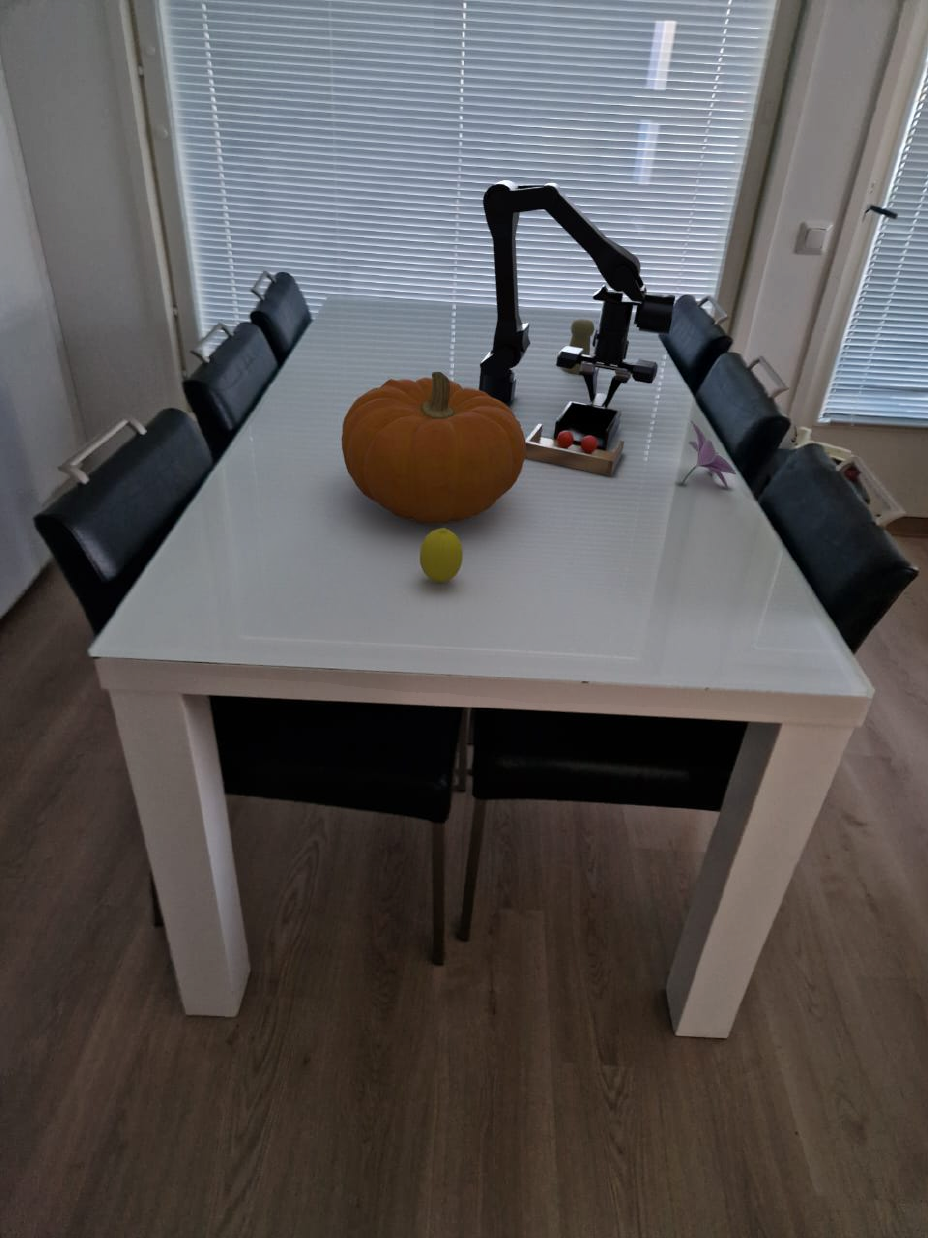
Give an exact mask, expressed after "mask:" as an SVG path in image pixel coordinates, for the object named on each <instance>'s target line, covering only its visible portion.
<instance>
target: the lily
mask: <svg viewBox="0 0 928 1238" xmlns="http://www.w3.org/2000/svg"><path fill="white" fill-rule="evenodd" d="M690 422H691V425H692V427H693V429H694V431H695V434H696V437H697V442H696V441H693V440H692V441H691V440H690V441H688V445H690V446H692V448H693V449H694V450H695V452H697V460H696V465H694V466H693V468H691V470H690V471H689V472H688V473H687V474H686V476H685V477H684V479H683V480H682V482H681V483H680V485H684V483H685V482H686V480H687V479H688V478H689V476H690V475H691V474H692V473H693V471H695V469H697V468H698V467H701V468H705V469H707V470H708V473H710V474H716V475H717V477H718V478H719V479H720V481H721V482H722V483H723V485H724V486H725V488H726V489H727V490H728V487H729V486H728V483H727V481H726V478H725V476H724V474H723V473H725V474H732V475H737V473H736V471H735V469H734V468H733V467H732V465H731V464H730V463H729V461H727V459H725V458H724V457H723V456H721V455H719V452H718V451H717V450H716V448H715V446H714V444H713V442H712V440H709V439H708V440H707V438H706V435H704V433H703V431H702V430H701V429H700V428H699V426H698V425H697V424H696V422H694V421H693V420H690Z"/></svg>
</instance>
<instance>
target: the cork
mask: <svg viewBox="0 0 928 1238" xmlns="http://www.w3.org/2000/svg"><path fill="white" fill-rule="evenodd" d="M570 332H571V338H570V342H569V345H568V346H570V347H576V348H581V349H583V352H584V353H583V354H584V355H589V356H591V338H592V336H593V335H594V333H595V324H594V323H593V322H592V321H591V320H589V319H586V318H578V319H577V318H576V319H575V320H574V319H573V321H572V323H571V325H570ZM562 369H563V371H565V372H567V373H569V374H570V373H571V374H576V375H577V374H578V375H579V371H580V369H581V364H576V366H574V367H573V368H572V369H568V368H562Z"/></svg>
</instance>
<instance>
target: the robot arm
mask: <svg viewBox="0 0 928 1238" xmlns="http://www.w3.org/2000/svg"><path fill="white" fill-rule="evenodd" d="M482 206H483V212H484V216H485V221H486V224H487V227H488V230H489V233H490V235H491V238H492V246H493V247H492V248H493V263H494V264H493V265H494V281H495V282H494V283H495V284H494V285H495V298H496V299H495V300H496V302H495V303H496V325H495V329H494V335H493V344H492V349H491V350H490V351H489V352H488V353H487V354H486V356H485V357H484V359H482V361H481V362H480V363H479V369H480V371H479V382H478V390H480V391H483V392H485V393H486V394H488V395H489V396H491V397H492V398H495V399H497V400H499V401H501V402H502V403H504V404H505V405H507V406H509V405H510V404H511V402H512V401H513V400H514V399H515V395H516V386H517V379H516V378H515V370H513V369H514V368H515V367H517V366H518V365H519V364H520V362H521V361H522V359H523V357H524V356H525V355H526V353H527V350H528V348H529V346H530V345H531V341H530V338H529V337H530V336H529V332H530V323H529V322H528V323H523V321H522V319H521V316H520V307H519V304H520V303H519V285H518V283H519V282H518V261H517V239H516V237H517V230H518V226H519V221H520V216H521V215H520V214H521V213H525V212H532V211H542V210H543V211H545V212H546V213H547V214H548V215H549V216H550V217H551V218H552V219H553V220H554V221H555V222H556V223H557V224H558V225H559V226H560V227H561V228H562V229H563V230H564V231H565V232H566V233H567V234H568V235H569V236H570V237H571V238H572V239H573V240H574V241H575V242H576V243H577V244H578V245H579V246H580V247H581V248H582V249H583V250H584V251H585V252H586V253H587V254H588V255H589V256H590V258H591V259H592V261H593V263H594V264H595V266H596V268H597V270H598V271H599V273H600V275H601V276H602V278H603V279H604V281H605V282H606V283H607V285H608V287H609V288H610V289H611V290H609V289H608V287H607V285H606V284H603V285H602V286H601V288H599V289H598V290H597V291H595V292H594V294H593V295H592V299H593V300H594V301H600V302H602V303H601V309H600V316H599V319H598V326H597V329H595V331H594V334H593V337H592V338H593V339H592V342H591V346H592V347H593V348H594V349H593V355H590V356H589V355H584V354H583V353H584V352H583V349H581V348H576V347H570V346H569V345H566V346H564V347H563V348H562V349H561V350H560V351H559V352H558V354H557V356H556V362H555V366H556V367H558V368H562V369H563V368H568V369H572V368H573V367H574V366H576V364H581V369H580V371H579V374H578V375H579V376H582V377H583V381H584V383H585V385H586V388H587V393H588V397H589V403H590V404H591V402H592V401H593V399H594V398H595V396H596V395H597V390H598V376H599V372H600V369H603V370H607V371H608V370H609V371H612V372H613V371H614V375H613V376H612V378H611V380H610V384H609V387H608V392H607V397H606V401H605V405H604V407H603V408H609V406H610V403H611V401H612V400H613V398H614V395H615V394H616V392H617V390H618V389H619V388H620V386H621V384H628V382H629V381H630V379H631V378H632V379H633V380H634V382H638V383H643V384H647V385H648V384H653V383H654V381H655V379H656V378H657V373H658V368H659V365H658V364H657V362H656V361H653V360H647V359H642V358H638V359H637V360H636V362H635V363H632V362H627V361H624V360H626V359H627V355H628V349H629V345H630V341H629V340H628V337H629V331H630V326H631V322H632V316H633V310H634V306H635V307H636V309H635V315H634V320H633V325H635V326H636V328H638V332H644V333H651V334H657V335H658V334H659V335H664V336H669V335H670V330H671V326H672V322H673V315H674V306H675V301H676V295H674V294H659V293H650V292H647V290H648V289H647V288H646V285H645V283H644V282H643V279H642V277H641V266H642V265H641V262H640V260H639V258H638V257H637V256H636V255H635V254H633V253H632V252H631V251H629V250H628V249H627V248H625V247H624V246H623V245H620V244H619V243H617V242H615V241H613V240H612V239H610V238H609V237H608V236H606V234H604V233H603V232H602V231H601V229H599V228H598V226H596V225H595V224H594V223H593V222H592V221H591V219H589V217H588V216H587V215H585V213H584V212H583V211H582V210H581V209H580V208H579V207H578V206H577V205H576V204H575V203H574V202H573V201H572V200H571V199H570V198H569V197H568V196H567V194H565V192H563V190H562V188H561V186H559V184H557V183H555V182H548V183H545V184H519V185H517V184H516V182H513V181H511V180H508V179H503V180H500V181H498V182H496V183H493V184H492V185H491V186H489V187H488V188H487V189H486V190H485V192H484V195H483V197H482ZM624 295H625V296H624Z"/></svg>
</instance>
